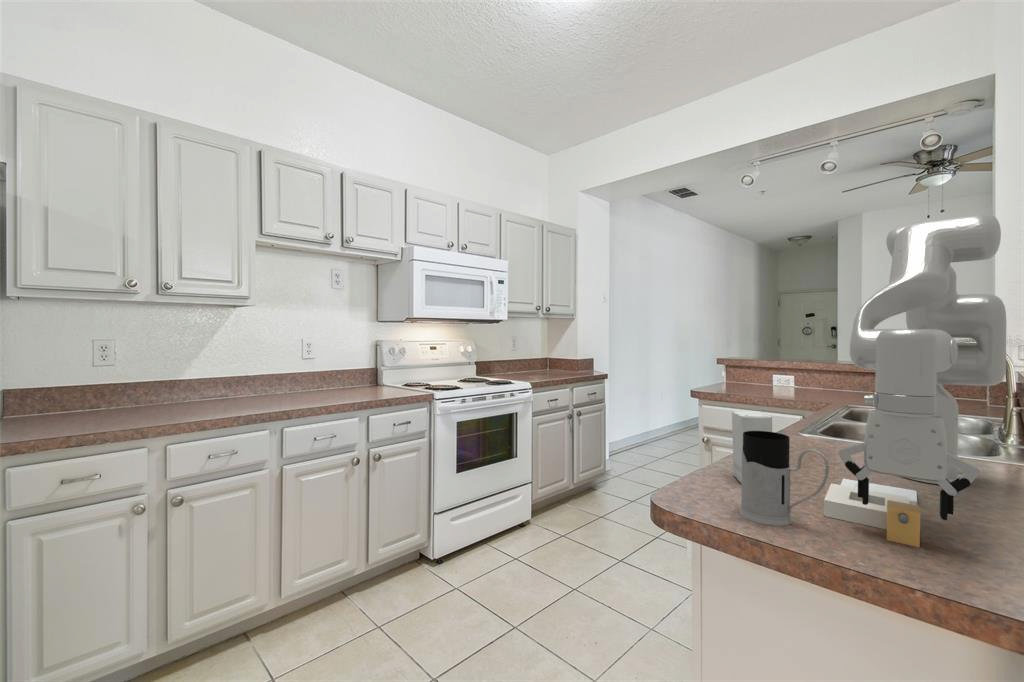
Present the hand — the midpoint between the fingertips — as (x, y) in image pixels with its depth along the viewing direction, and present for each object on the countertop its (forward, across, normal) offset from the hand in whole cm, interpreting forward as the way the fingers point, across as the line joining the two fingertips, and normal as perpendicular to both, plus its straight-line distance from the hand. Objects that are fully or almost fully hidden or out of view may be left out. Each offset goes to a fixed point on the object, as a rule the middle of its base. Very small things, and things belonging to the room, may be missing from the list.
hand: (902, 509), depth 74 cm
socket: (+5, -5, +10) cm, 12 cm away
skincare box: (+5, -26, +16) cm, 31 cm away
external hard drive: (+5, -4, +25) cm, 26 cm away
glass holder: (+5, -17, -4) cm, 18 cm away
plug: (+5, 0, 0) cm, 5 cm away
